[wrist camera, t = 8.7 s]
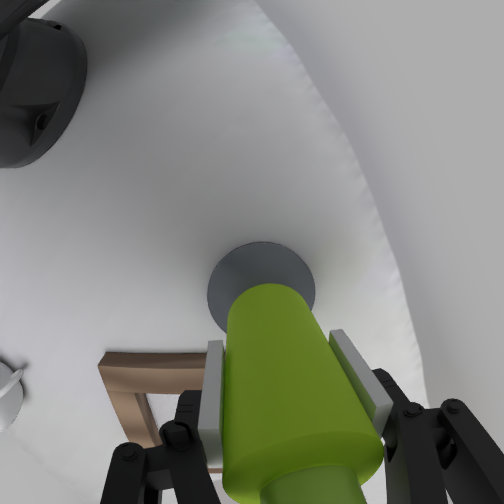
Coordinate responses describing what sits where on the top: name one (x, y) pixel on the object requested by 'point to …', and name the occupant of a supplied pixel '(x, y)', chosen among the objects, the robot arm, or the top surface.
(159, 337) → the top surface
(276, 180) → the top surface
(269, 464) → the soap dispenser
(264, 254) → the coaster
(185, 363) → the pocket frame
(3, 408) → the mug
